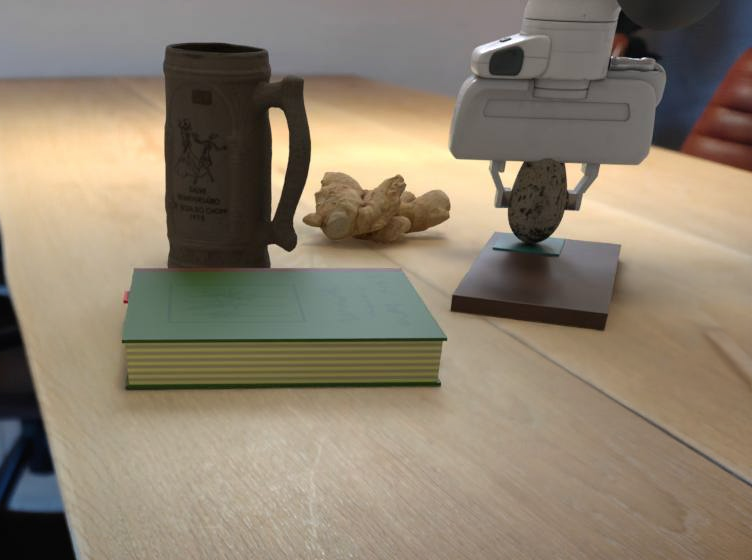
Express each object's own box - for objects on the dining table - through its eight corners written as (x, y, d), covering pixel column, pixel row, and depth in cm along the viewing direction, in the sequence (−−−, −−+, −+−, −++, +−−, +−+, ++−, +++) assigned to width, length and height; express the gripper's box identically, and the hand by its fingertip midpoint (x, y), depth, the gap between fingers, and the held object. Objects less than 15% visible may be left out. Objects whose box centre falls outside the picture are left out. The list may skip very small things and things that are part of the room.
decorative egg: (563, 250, 97) (585, 145, 91) (508, 249, 97) (525, 143, 91) (550, 236, 102) (570, 135, 96) (497, 235, 102) (513, 134, 96)
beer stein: (142, 275, 92) (141, 41, 80) (188, 249, 100) (194, 33, 88) (282, 305, 89) (304, 66, 76) (318, 277, 97) (344, 56, 84)
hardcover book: (396, 309, 85) (401, 268, 83) (440, 386, 70) (447, 337, 68) (128, 310, 83) (125, 268, 81) (115, 389, 69) (111, 339, 66)
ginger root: (267, 225, 104) (281, 148, 101) (339, 236, 116) (354, 166, 113) (382, 255, 97) (401, 172, 93) (446, 262, 109) (465, 190, 106)
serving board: (492, 245, 105) (494, 229, 104) (618, 258, 101) (621, 242, 100) (449, 310, 85) (452, 292, 84) (604, 330, 82) (608, 311, 81)
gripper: (662, 55, 91) (627, 205, 99) (457, 49, 92) (439, 198, 100) (680, 61, 86) (641, 218, 94) (462, 55, 87) (443, 211, 95)
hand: (535, 208), depth 97 cm, fingers closed on decorative egg, 6 cm apart
